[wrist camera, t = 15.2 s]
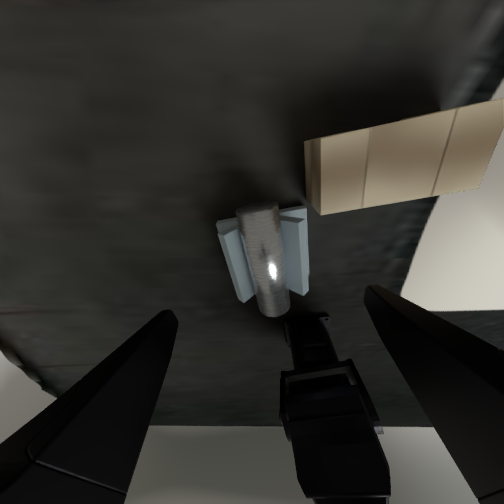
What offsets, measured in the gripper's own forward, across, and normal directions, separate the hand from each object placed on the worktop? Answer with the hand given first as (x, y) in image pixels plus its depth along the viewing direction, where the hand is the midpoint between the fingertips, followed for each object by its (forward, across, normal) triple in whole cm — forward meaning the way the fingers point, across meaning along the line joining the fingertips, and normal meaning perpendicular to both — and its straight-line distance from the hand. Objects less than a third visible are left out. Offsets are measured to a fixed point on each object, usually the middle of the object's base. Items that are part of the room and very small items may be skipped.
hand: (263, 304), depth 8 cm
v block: (+12, 0, +4) cm, 12 cm away
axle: (+8, 0, +3) cm, 9 cm away
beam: (+12, -10, -4) cm, 16 cm away
